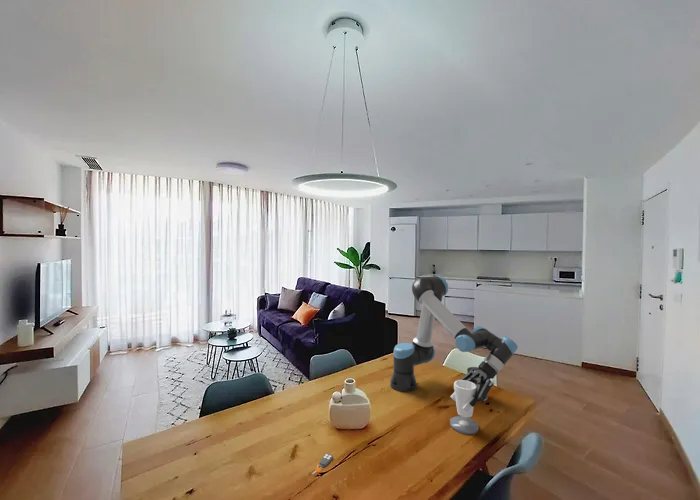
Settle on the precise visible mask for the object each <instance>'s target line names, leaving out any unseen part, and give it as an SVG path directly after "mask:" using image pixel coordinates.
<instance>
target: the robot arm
mask: <svg viewBox="0 0 700 500" xmlns="http://www.w3.org/2000/svg"><path fill="white" fill-rule="evenodd" d="M411 290H412V291H411V292H412V295H413V296H414V299H415V300H416V301H417V302H418V303H419V304H421V305H422V306H421V311H420V315H419V316H420V317H419V321H418V327H417V331H416V336H415V337H413V339H412V343H410V342H402V343H397V344H396V345H395V346H394V348H393V353H392V354H393V372H392V375H391V379H390V380H389V381H390V382H389V385H390V387H391V388H392V389H393V390H395V391H399V392H413V391H415V390H417V388H418V383H417V382H418V381H417V379H416V375H415V366H420V365H423V364H427V363H429V362H432V360H434V357H435V355H436V350H435V347H434V345H433V344H434V343H433V341H432V336H433V331H434V325H435V320H437V321H438V322H439V323H440V324H441V325H442V326H443V327H444V328H445V330H446V331H447V332H448V333H449V335H451V336H452V337H453V338H454V339H455V341H454V342H455V346H456V348H457V349H458V351H460V352H462V353H467V352H468V353H469V352H472V351H475V350H479V349H481V348H485V349H487V350H488V351H490V352H489V353H488V354H487V355H486V356H485V358H484V359H483V360H482V361H481V362H480V363H479V365H478V366H477V367H478V368H479V369H478V370H477V371H475V370H474V369H473V368H472V369H471V370H470V372H469V373H466V374H465V375H464V376H463V377H461V378H460V379H459V380H466V381H470V382H472V383H477V382H478V386H477V389H476V392H475V395H474V396H473V397H471V398H470V399H469V401H468V402H467V403H466V404H465V405H464V407H463V409H464V410H465V411H466V412H467V413H468V411H469V410H470V409H471V408H472V407H473V406H474V407H475V406H476V405H477V403H478V402H479V403H484V402H485V401H484V399H485V398H486V396H487V397H488V395H489V392H490V390H491V388H492V387H494V384H495V383H494V382H493V381H492V380H491V379H494V378H495V377H496V376H497V375H498V372H501V369H502V368H503V367H504V366H505V365H506V363H508V362H509V361H510V359H511V358H512V357H513V356H514V355H515V353H516V352H517V350H518V347H519V346H518V344H517V343H516V342H515V341H514V340H513V339H511V338H510V337H507V336H503V337H501V338H500V337H499V336H497V335H496V334H494V333H493V332H491V331H490V330H488V329H487V328H485V327H483V326H480V325H477V326H476V327H474V328H473V329H472V331H470V330H469V329H468V328H467V327H466V326H465V325H464V324H463V323H462V322H461V320H459V319H458V318H457V316H455V315H454V313H452V312H451V311H450V309H448V307H446V305H444V303H442V302H443V301H442V300H443V297H444V296H445V295H446V294H448V291H449V284H448V282H447V281H446V279H445V278H444V277H442V276H440V275H439V276H438V275H432V276H420V277H418V278H416V279H415V280H414V281H413V283H412V285H411ZM449 397H450V398H451V399H452V400H453V401H454V402H456V398H455V391H454V392H453V393H452V394H451V395H450V396H449Z"/></svg>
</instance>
